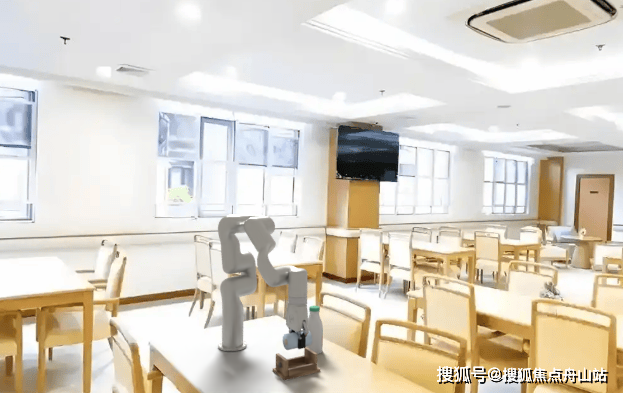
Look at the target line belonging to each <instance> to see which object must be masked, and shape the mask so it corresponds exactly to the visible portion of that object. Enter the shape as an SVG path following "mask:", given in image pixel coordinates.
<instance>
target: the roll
mask: <svg viewBox="0 0 623 393" xmlns="http://www.w3.org/2000/svg"><path fill="white" fill-rule="evenodd" d="M302 333H303V332H301V334H302ZM298 339H299V335H298V332H293V333H289V332H288V333H284V334H283V336H282V345H283V347H284V349H285V350H286V351H289V350H295V349H298ZM311 344H312V335H311V333H310V331H309V333H308V334H307V336H306V346H309V345H311Z"/></svg>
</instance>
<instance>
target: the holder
mask: <svg viewBox="0 0 623 393" xmlns="http://www.w3.org/2000/svg"><path fill="white" fill-rule="evenodd" d="M303 349H304V351H303V352H304V355H300V356H295V357H291V358H286V357H284V356H283V355H282V354H280V353H275V367H273V368H272V372H274V373H275V374H276V375H277V376H278V377H280V378H281V379H282V380H283V381H288V380H293V379H296V378H300V377H304V376H308V375H312V374H313V375H314V374H317V373H320V372H321V368H319V367H318V354H317V353H316V352H314V351H312V350H311V349H309V348H308V347H305V348H303Z"/></svg>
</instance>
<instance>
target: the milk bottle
mask: <svg viewBox="0 0 623 393" xmlns="http://www.w3.org/2000/svg"><path fill="white" fill-rule="evenodd" d="M320 309H321V308H320V306H319V305H311V306H309V307H308V310H309V311H308V312H309V315H308V330H309V331H310V333H311V335H312V344H311V345H309V346H306V347H308V348H309V349H311V350H312V351H314V352H316V353H317V355H319V354H322V352H323V341H324V340H323V339H324V338H323V335H324V332H323V331H324V326H323V322H322V319H321V317H320V316H321V315H320V313H321V312H320Z"/></svg>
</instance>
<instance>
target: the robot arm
mask: <svg viewBox="0 0 623 393" xmlns="http://www.w3.org/2000/svg"><path fill="white" fill-rule="evenodd" d="M275 230H276V224H275V221H274V219H273V218H271V217H270V216H267V215H263V214H255V213H240V214H239V213H235V214H227V215H225V216H223V217H221V219H220V220H219V221H218V225H217V233H218V238H219V242H220V253H221V265H222V270H223V272H224V273H225V274H227V275H234V274H239V273H240V275H234V276H230V277H227V278H224V279H223V280H222V281H221V283H220V287H219V290H220V296H221V297H220V298H221V315H222V316H221V341H220V342H218V345H217V347H218V349H219V350H221V351H224V352H238V351H242V350H243V349H245V348H247V345H248V344H247V342H246V341H245V340H244V316H245V315H244V311H245V310H244V309H245V308H244V304H243V301H241V298H242V297H246V296H250V295H252V294H254V293H255V292H256V290H257V286H258V280H257V270H258V272H259V274H260V276H261V277H262V279H263V281H264V282H265V283H266V284H267V285H268V286H269V287H271V288H276V287H281V286H286V285H288V286H287V287H288V291H287V305H286V315H285V325H286V327H287V328H288V333H293V332H298V335H299V339H298V348H297V349H298V350H302V349H304V348H305V347H306V336H307V334H308V333H309V330H308V317H309V315H308V312H309V311H308V306H307V305H308V270H306V269H305V268H302V267H296V266H293V265H291V264H289V265H288V264H287V265H280V266H275V267H274V265H273V264H272V262H271V261H270V258H269V254H270V253H271V252H272V251H274V250H275V247H276V246H277V244H276V240H275V239H274V237H273V236H272V234H273V233H274V232H275ZM243 233H244V234H245V233H246V235H247V237H248V239H249V240H250V242H251V243H252V245H253V247H254V249H255V251H256V252H257V257H256V258H255V257H254V254H253V253H252V252H251V251H248V250H247V251H246V250H243V251H241V244H240V243H241V242H240V240H239V238H238V237H237V235H236V234H243ZM301 332H303V333H302V334H301Z"/></svg>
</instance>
